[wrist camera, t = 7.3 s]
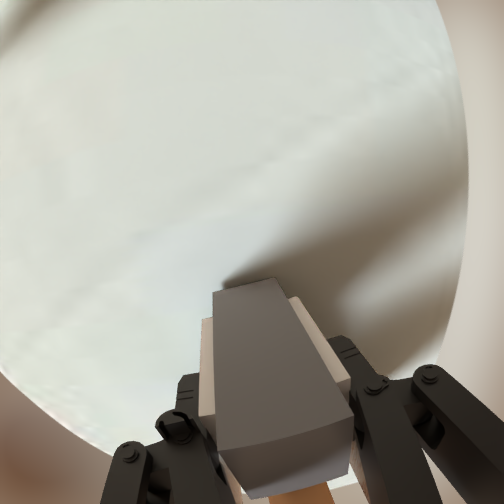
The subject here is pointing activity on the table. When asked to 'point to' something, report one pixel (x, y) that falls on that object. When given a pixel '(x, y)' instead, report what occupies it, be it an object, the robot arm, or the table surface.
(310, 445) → the grey orange-ended bar
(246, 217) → the table surface
